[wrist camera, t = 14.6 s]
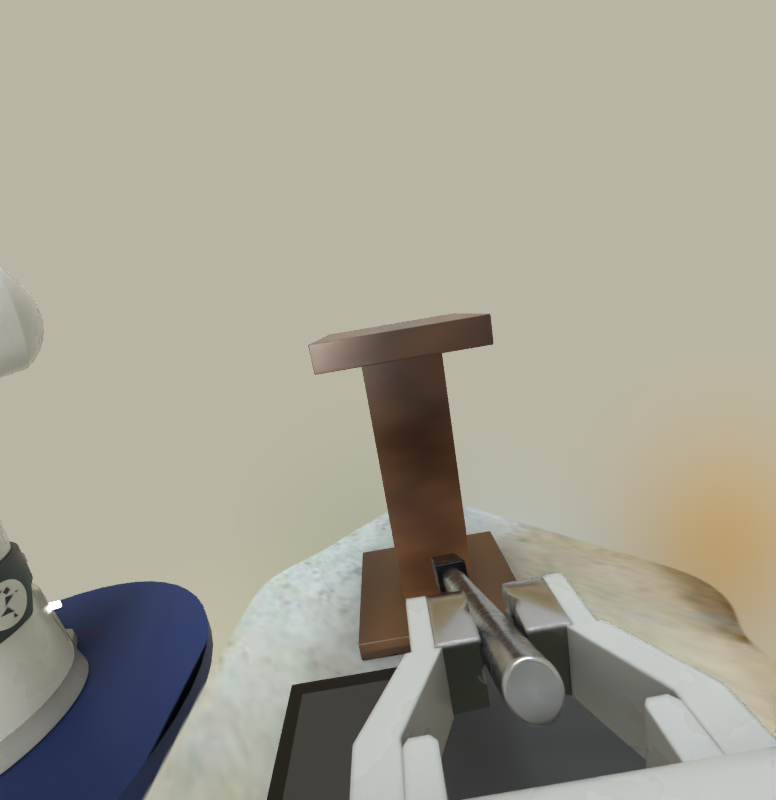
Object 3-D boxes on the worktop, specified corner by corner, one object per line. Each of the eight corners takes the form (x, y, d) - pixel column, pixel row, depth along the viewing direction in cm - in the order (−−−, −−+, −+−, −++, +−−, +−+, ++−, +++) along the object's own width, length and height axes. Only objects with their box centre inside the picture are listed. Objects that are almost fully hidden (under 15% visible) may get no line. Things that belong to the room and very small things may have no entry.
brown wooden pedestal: (361, 660, 31) (292, 347, 25) (365, 564, 42) (318, 336, 37) (536, 630, 31) (505, 310, 25) (491, 543, 42) (463, 311, 37)
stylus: (500, 738, 6) (480, 651, 6) (435, 580, 21) (430, 556, 22) (588, 721, 6) (564, 635, 6) (460, 575, 21) (455, 552, 22)
